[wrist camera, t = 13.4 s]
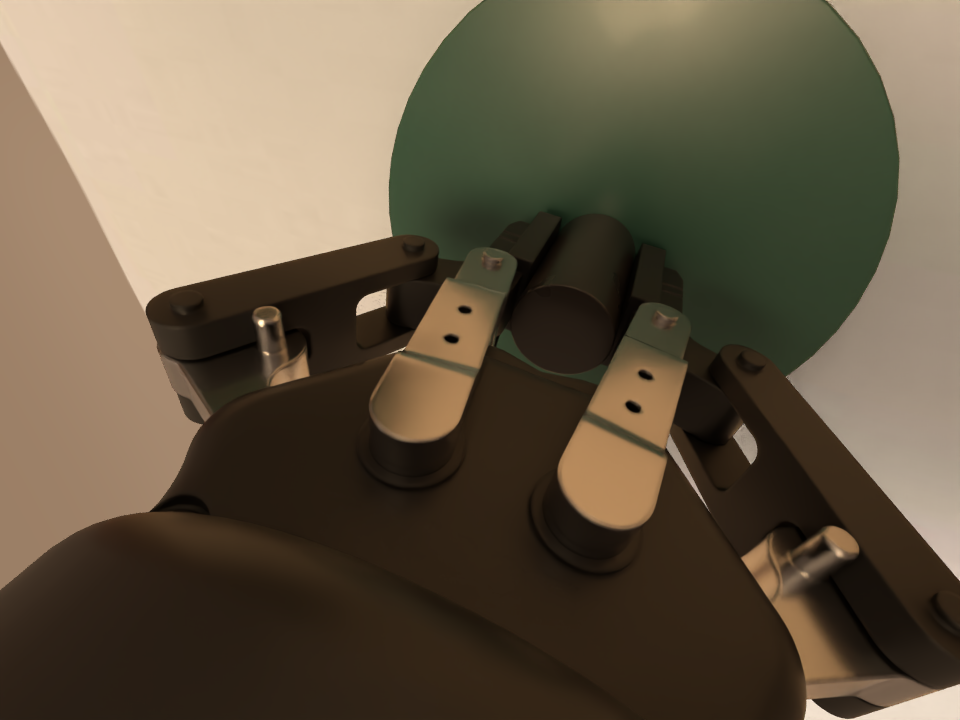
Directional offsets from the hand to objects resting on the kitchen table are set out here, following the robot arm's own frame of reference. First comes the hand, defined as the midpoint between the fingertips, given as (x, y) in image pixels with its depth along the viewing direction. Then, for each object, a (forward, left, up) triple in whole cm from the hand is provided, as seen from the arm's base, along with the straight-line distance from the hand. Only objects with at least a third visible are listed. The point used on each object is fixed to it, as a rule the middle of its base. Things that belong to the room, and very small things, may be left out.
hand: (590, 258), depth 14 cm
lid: (0, 0, -1) cm, 1 cm away
